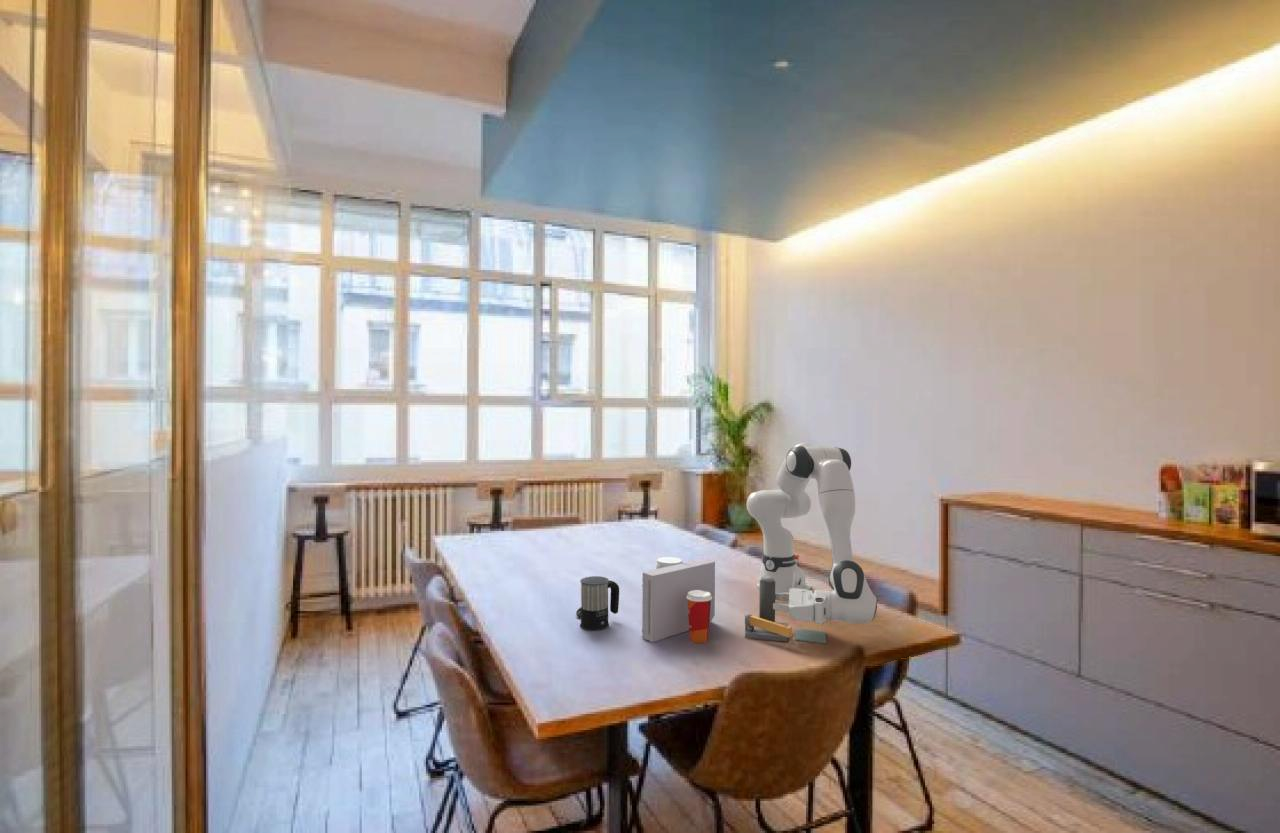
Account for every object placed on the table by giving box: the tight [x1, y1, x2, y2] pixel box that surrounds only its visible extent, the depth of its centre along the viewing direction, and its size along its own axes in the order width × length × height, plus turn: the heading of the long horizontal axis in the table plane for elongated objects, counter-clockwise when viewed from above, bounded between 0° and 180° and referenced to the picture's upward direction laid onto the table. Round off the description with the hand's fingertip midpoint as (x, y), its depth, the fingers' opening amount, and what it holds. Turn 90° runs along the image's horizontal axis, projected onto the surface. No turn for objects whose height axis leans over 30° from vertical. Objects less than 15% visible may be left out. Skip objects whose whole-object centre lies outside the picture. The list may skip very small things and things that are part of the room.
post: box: [744, 623, 753, 632], centre depth 185 cm, size 2×2×3 cm
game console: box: [641, 558, 716, 643], centre depth 189 cm, size 6×27×20 cm, turn 130°
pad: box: [794, 628, 827, 644], centre depth 183 cm, size 9×9×1 cm
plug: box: [753, 576, 777, 634], centre depth 187 cm, size 8×8×17 cm
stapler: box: [744, 613, 793, 638], centre depth 180 cm, size 16×2×3 cm, turn 44°
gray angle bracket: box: [744, 621, 789, 642], centre depth 187 cm, size 12×12×1 cm
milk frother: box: [575, 575, 620, 632], centre depth 195 cm, size 14×16×15 cm
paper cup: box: [686, 590, 712, 644], centre depth 180 cm, size 8×8×14 cm
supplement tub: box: [655, 556, 683, 569], centre depth 218 cm, size 10×10×15 cm
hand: (773, 600), depth 186 cm, fingers open, 8 cm apart
